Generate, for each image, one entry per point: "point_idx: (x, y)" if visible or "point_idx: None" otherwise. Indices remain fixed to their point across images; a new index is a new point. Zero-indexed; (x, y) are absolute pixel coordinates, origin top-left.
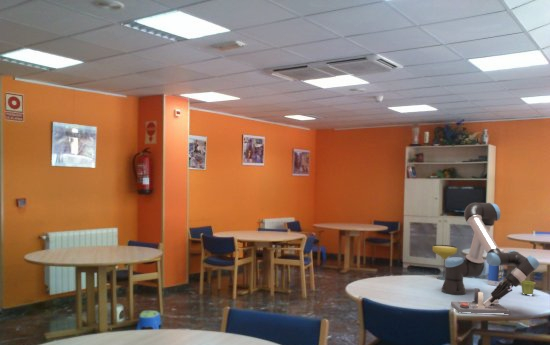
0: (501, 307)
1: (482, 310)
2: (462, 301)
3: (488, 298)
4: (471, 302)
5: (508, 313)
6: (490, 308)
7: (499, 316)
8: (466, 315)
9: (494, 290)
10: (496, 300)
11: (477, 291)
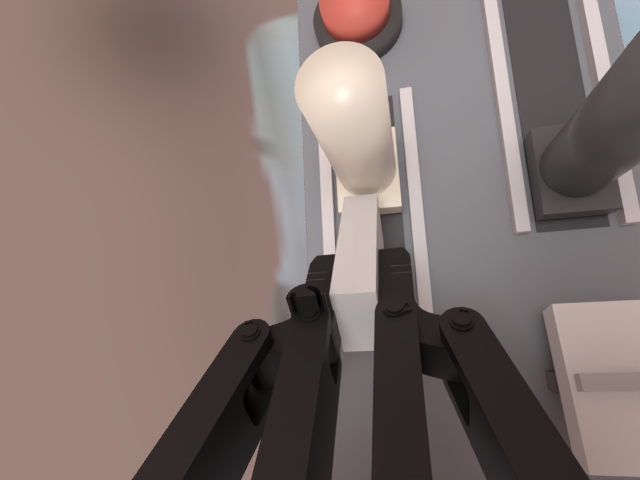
0: None
1: (305, 188)
2: (596, 16)
3: (372, 247)
4: None
5: None
6: None
7: None
8: (249, 58)
9: (492, 397)
10: (596, 447)
11: (606, 85)
